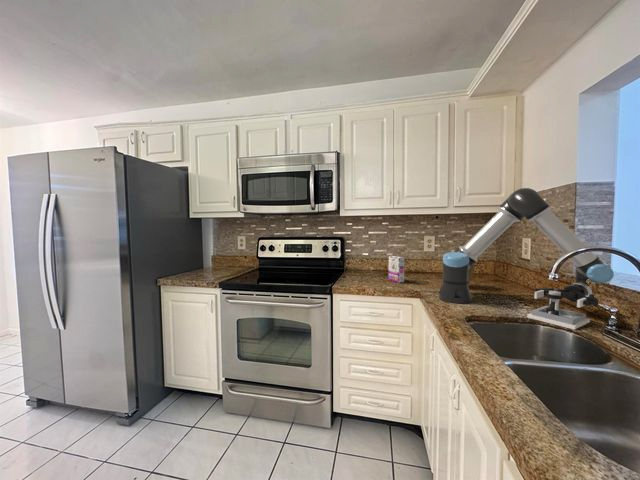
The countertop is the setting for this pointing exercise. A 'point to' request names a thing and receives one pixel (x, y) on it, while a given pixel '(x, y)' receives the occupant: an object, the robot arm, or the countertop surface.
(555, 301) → the push button
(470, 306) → the countertop surface
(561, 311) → the tray
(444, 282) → the robot arm
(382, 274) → the countertop surface
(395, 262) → the candy bar box
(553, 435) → the countertop surface
